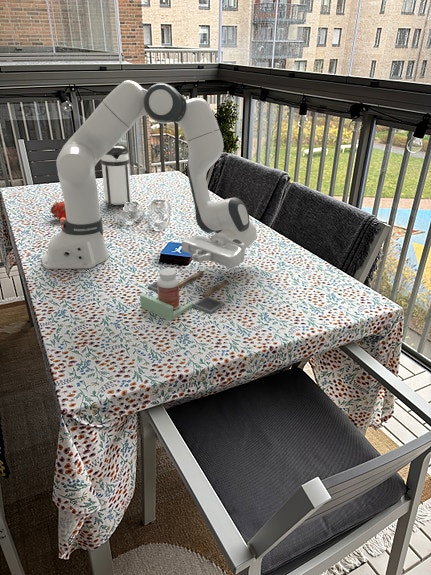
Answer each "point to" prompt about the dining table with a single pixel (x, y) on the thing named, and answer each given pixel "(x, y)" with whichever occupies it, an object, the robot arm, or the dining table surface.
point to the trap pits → (200, 302)
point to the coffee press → (116, 175)
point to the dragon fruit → (58, 210)
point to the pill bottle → (168, 287)
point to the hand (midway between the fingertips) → (195, 258)
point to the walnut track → (208, 290)
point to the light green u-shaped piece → (161, 307)
